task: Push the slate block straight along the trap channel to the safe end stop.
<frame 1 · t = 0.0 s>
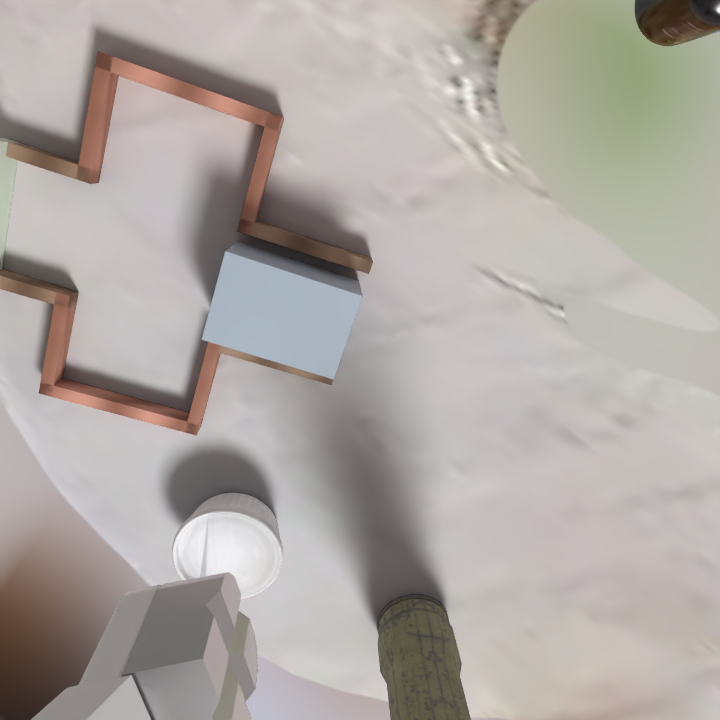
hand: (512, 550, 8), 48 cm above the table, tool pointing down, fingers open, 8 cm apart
trap channel: (158, 260, 54), on the table
ramekin: (235, 525, 64), on the table
supplement bottle: (668, 4, 49), on the table
olive green tall piece: (412, 621, 69), on the table
safe end stop: (2, 212, 52), on the table
slate block: (287, 299, 56), on the table
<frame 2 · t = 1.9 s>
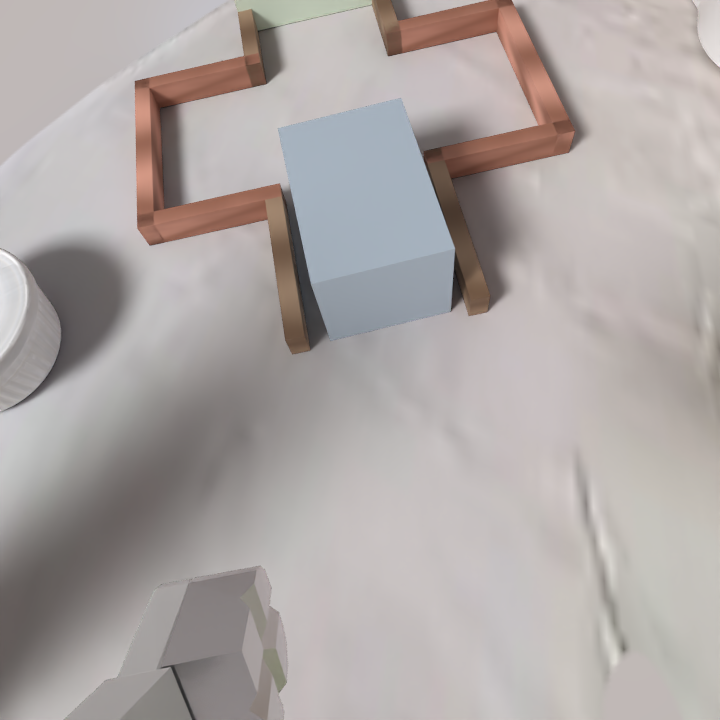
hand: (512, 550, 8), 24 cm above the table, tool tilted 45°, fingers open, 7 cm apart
trap channel: (340, 124, 45), on the table
ramekin: (2, 356, 40), on the table
safe end stop: (313, 13, 51), on the table
slate block: (370, 254, 40), on the table
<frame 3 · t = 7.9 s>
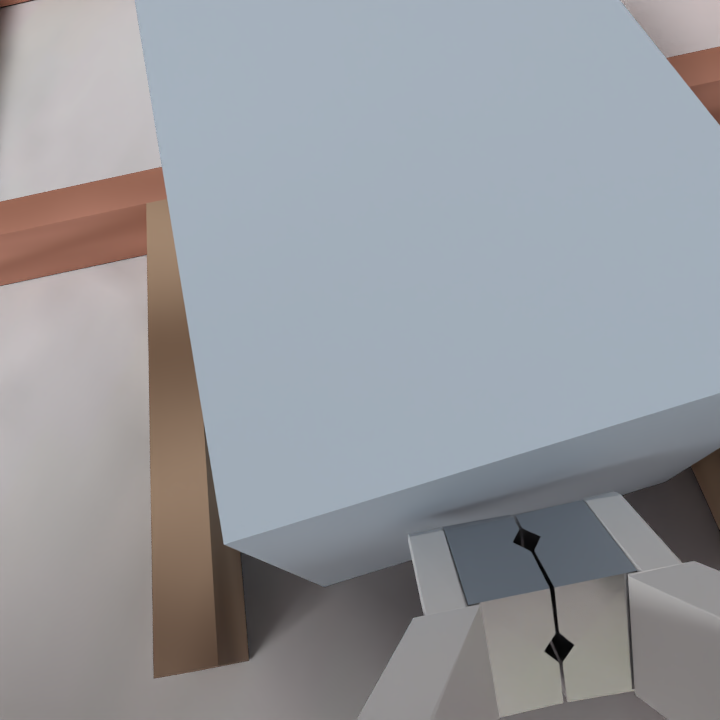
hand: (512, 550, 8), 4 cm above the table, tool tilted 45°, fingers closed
trap channel: (343, 38, 20), on the table
slate block: (413, 313, 15), on the table, touching gripper
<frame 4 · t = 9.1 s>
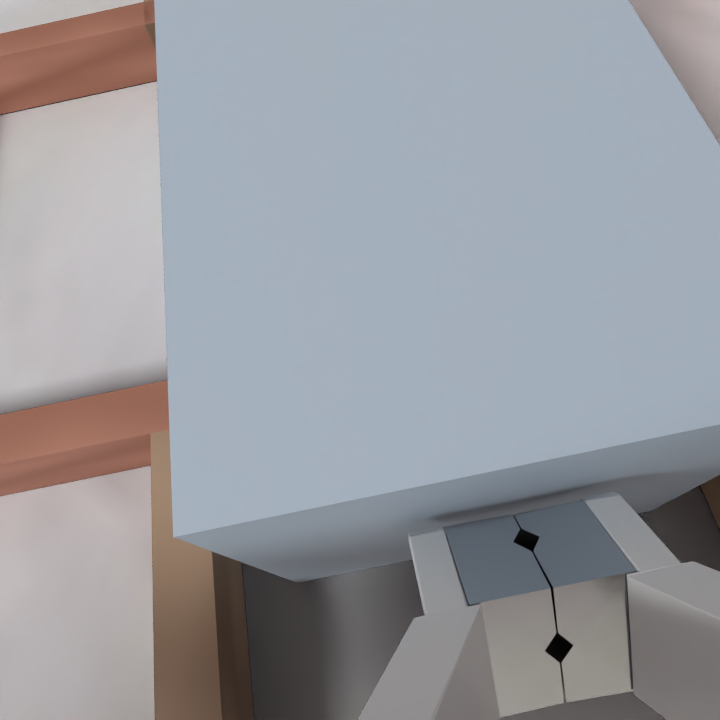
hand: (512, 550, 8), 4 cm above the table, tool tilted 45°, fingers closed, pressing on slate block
trap channel: (378, 175, 17), on the table
slate block: (414, 317, 15), on the table, touching gripper
when the fingers open (5 cm above the table, at t = 13.4 s): slate block stays where it is, on the table.
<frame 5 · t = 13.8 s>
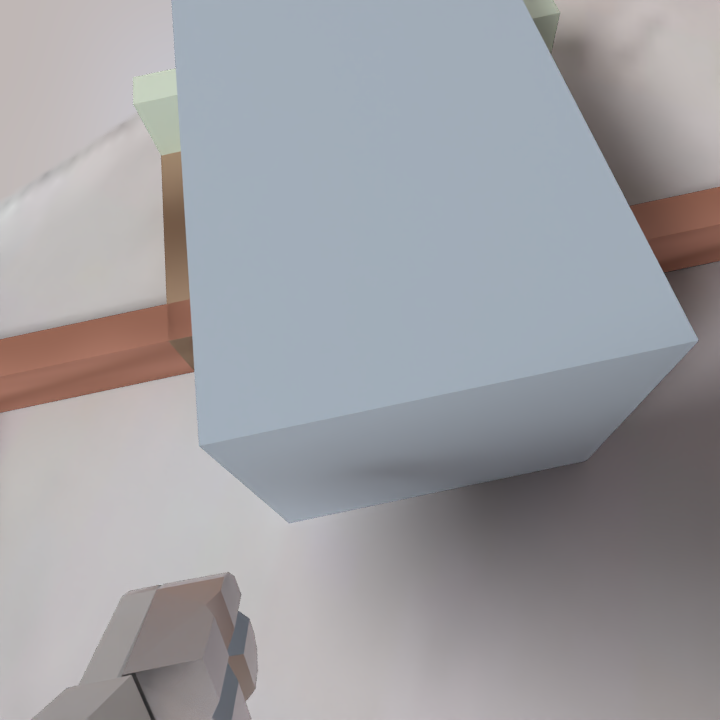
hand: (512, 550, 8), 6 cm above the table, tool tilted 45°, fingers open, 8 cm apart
trap channel: (457, 548, 14), on the table
safe end stop: (356, 148, 21), on the table
slate block: (390, 305, 18), on the table
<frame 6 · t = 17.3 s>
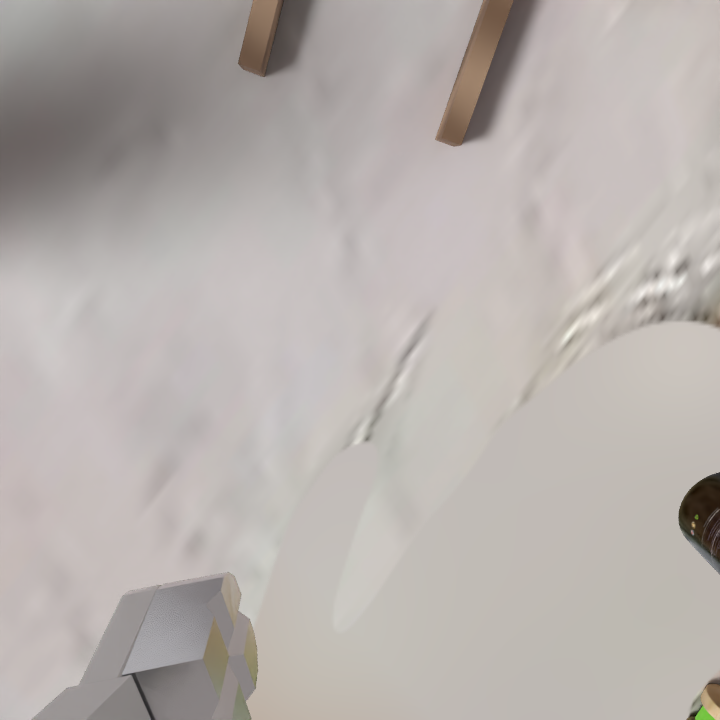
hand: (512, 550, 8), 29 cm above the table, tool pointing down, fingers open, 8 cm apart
supplement bottle: (716, 505, 43), on the table
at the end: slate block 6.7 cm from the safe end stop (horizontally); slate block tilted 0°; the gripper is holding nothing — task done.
